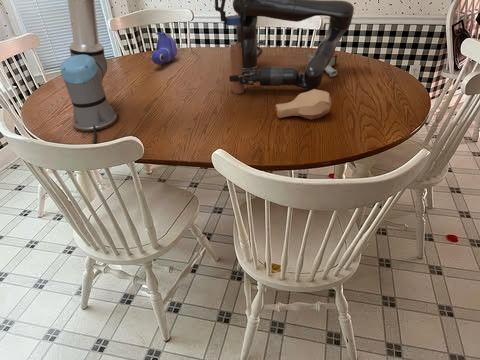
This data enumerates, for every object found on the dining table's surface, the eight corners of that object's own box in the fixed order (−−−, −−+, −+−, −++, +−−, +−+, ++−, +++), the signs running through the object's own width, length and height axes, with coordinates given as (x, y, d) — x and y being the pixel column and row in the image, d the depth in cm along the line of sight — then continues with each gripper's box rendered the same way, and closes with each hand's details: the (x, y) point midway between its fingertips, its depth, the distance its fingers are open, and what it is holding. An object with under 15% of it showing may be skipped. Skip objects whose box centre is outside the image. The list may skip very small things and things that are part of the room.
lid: (229, 21, 137) (229, 15, 136) (243, 22, 135) (243, 15, 134) (223, 25, 133) (222, 18, 132) (237, 26, 131) (237, 19, 130)
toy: (165, 64, 197) (145, 70, 175) (161, 31, 190) (139, 33, 168) (182, 63, 195) (163, 69, 172) (178, 30, 188) (158, 32, 166)
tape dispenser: (333, 81, 157) (348, 64, 170) (335, 70, 154) (350, 54, 166) (297, 74, 164) (314, 58, 177) (297, 63, 161) (315, 47, 174)
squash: (335, 120, 125) (335, 98, 118) (278, 130, 127) (276, 109, 120) (328, 102, 132) (328, 81, 126) (275, 112, 134) (272, 92, 128)
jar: (244, 93, 148) (241, 44, 137) (233, 94, 148) (229, 45, 137) (243, 89, 152) (240, 41, 141) (232, 90, 152) (228, 42, 140)
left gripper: (202, -39, 119) (209, 33, 132) (258, -42, 119) (258, 31, 133) (203, -41, 125) (209, 29, 138) (256, -44, 125) (257, 26, 139)
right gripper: (270, 92, 141) (228, 91, 143) (273, 78, 152) (234, 78, 155) (270, 73, 136) (226, 73, 139) (273, 61, 148) (233, 61, 150)
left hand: (233, 29), depth 136 cm, fingers closed on lid, 6 cm apart
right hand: (231, 76), depth 147 cm, fingers closed on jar, 4 cm apart
